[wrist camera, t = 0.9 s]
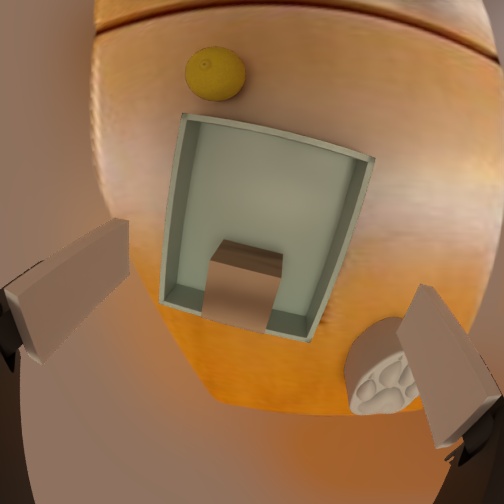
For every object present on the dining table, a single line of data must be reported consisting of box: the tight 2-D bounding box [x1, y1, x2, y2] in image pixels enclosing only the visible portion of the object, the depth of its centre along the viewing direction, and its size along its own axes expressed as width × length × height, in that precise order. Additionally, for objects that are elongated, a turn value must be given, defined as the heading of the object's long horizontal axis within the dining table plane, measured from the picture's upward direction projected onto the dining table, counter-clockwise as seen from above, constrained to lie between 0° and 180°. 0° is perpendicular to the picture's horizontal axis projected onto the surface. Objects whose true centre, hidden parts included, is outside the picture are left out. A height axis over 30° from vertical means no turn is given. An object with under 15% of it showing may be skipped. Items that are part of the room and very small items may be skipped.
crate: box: [159, 113, 376, 343], centre depth 29 cm, size 21×18×5 cm
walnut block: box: [201, 239, 283, 334], centre depth 31 cm, size 7×7×6 cm
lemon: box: [185, 47, 246, 101], centre depth 22 cm, size 6×6×8 cm
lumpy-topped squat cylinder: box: [344, 317, 420, 415], centre depth 32 cm, size 10×13×9 cm
